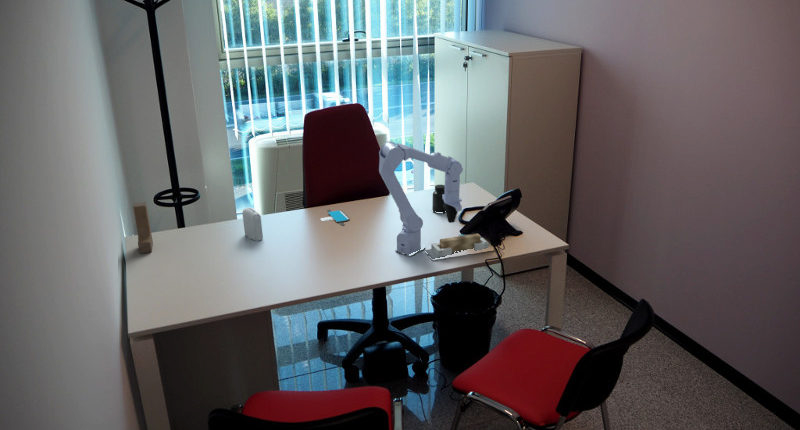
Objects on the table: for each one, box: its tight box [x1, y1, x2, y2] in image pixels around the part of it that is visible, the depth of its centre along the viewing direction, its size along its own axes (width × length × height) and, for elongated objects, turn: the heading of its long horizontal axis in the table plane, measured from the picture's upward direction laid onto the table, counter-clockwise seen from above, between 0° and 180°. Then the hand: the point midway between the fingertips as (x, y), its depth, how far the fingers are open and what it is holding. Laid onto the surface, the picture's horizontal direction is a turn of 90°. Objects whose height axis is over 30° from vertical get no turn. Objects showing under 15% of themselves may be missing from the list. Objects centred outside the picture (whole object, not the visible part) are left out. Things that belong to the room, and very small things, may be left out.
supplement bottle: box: [431, 184, 446, 212], centre depth 286 cm, size 7×7×12 cm
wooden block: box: [132, 201, 154, 254], centre depth 250 cm, size 9×4×18 cm, turn 16°
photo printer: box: [242, 207, 264, 242], centre depth 261 cm, size 10×4×12 cm, turn 39°
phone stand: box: [320, 209, 351, 227], centre depth 282 cm, size 20×12×2 cm, turn 25°
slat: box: [439, 233, 482, 252], centre depth 247 cm, size 16×2×5 cm, turn 109°
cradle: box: [424, 236, 490, 259], centre depth 247 cm, size 26×8×4 cm, turn 109°
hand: (451, 221), depth 251 cm, fingers closed
